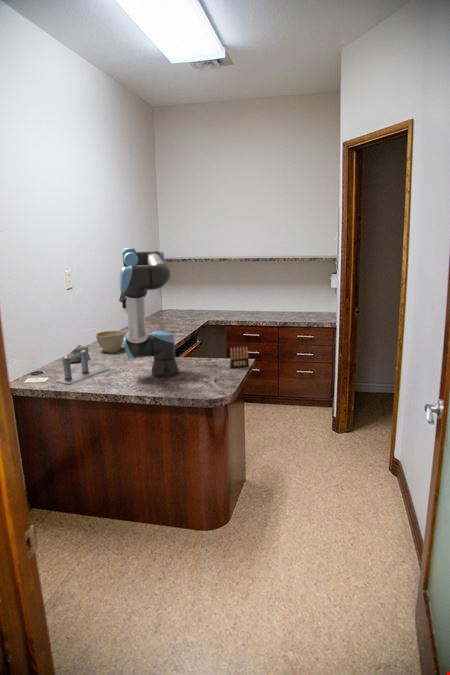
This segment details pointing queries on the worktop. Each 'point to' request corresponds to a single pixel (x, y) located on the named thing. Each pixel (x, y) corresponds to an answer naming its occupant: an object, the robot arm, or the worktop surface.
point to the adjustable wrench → (213, 384)
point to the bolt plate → (79, 375)
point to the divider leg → (84, 361)
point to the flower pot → (110, 340)
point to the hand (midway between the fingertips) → (133, 311)
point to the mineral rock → (78, 353)
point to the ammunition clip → (239, 358)
